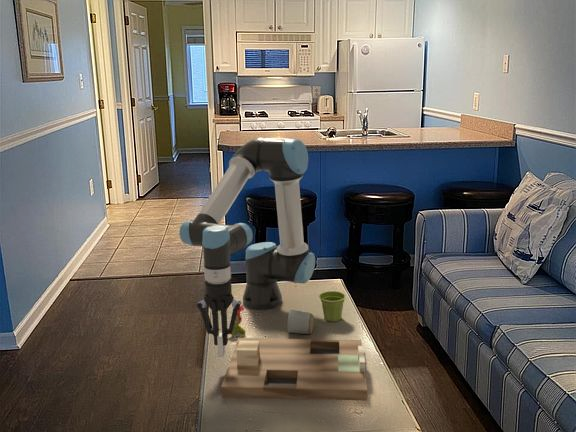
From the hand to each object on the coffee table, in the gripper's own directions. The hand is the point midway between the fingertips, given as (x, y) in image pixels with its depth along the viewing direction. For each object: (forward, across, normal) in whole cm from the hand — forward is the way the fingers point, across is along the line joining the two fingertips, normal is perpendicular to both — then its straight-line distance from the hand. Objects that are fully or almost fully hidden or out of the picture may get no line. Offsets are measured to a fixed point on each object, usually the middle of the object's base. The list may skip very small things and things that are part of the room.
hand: (221, 354), depth 165 cm
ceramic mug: (+5, +22, +27) cm, 35 cm away
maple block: (+2, +8, 0) cm, 8 cm away
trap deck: (+5, +22, 0) cm, 23 cm away
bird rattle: (+5, 0, +25) cm, 26 cm away
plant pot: (+5, +33, +37) cm, 50 cm away
